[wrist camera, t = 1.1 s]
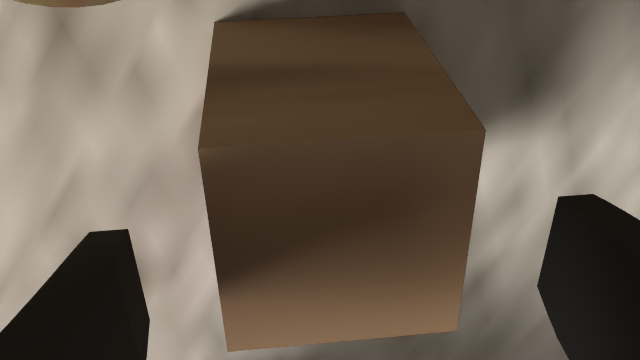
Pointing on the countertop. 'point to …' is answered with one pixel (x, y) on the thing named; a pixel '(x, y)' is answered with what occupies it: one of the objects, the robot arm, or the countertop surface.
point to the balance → (67, 2)
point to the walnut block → (335, 180)
